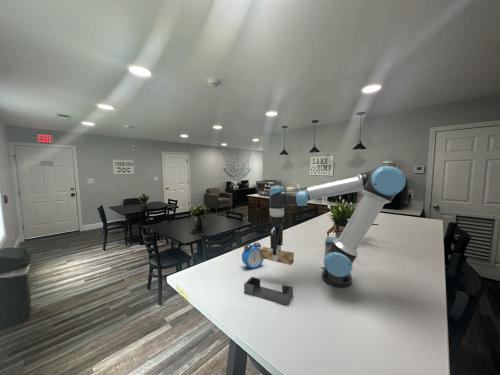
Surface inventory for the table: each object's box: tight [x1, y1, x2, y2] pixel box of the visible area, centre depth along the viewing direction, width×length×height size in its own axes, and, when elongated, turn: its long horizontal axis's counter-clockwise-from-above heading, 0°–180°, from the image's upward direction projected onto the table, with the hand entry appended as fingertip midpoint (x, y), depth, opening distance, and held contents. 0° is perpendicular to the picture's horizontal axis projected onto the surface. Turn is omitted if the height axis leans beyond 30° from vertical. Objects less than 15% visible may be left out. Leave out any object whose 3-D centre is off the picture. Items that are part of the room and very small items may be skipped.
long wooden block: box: [259, 246, 295, 266], centre depth 107 cm, size 18×4×5 cm, turn 61°
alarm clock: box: [241, 242, 264, 270], centre depth 126 cm, size 13×6×15 cm, turn 119°
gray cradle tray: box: [243, 276, 294, 307], centre depth 96 cm, size 22×8×5 cm, turn 62°
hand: (276, 258), depth 107 cm, fingers closed on long wooden block, 4 cm apart
